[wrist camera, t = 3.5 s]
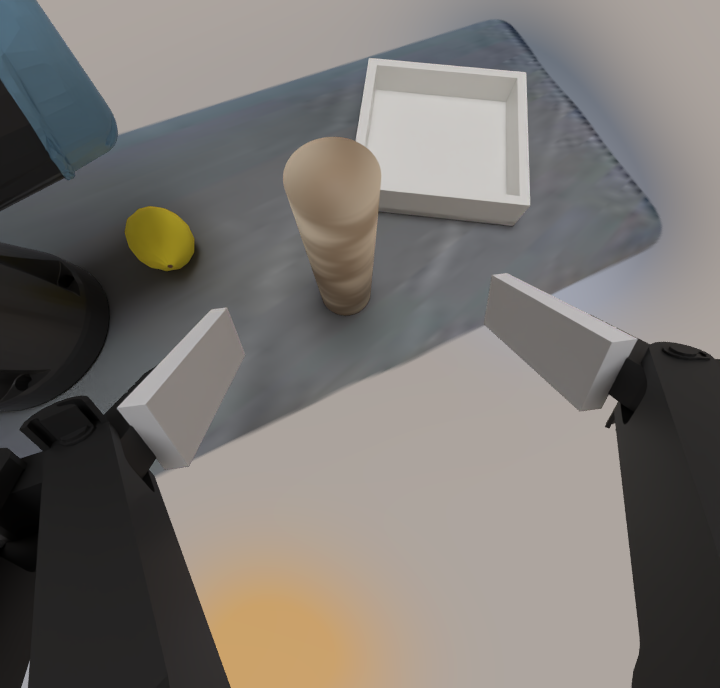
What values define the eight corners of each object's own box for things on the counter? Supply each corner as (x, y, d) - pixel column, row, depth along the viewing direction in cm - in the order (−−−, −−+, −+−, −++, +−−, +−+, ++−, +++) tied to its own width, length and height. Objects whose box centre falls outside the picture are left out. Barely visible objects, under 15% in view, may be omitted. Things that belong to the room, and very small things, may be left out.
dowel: (317, 312, 27) (274, 212, 13) (325, 267, 28) (292, 132, 14) (367, 318, 26) (375, 223, 13) (373, 273, 28) (386, 141, 14)
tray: (349, 208, 29) (348, 186, 27) (368, 88, 34) (369, 58, 31) (513, 225, 29) (530, 205, 26) (511, 102, 33) (526, 72, 30)
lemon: (151, 245, 29) (103, 203, 24) (198, 226, 30) (162, 181, 25) (162, 294, 27) (112, 259, 22) (214, 272, 27) (177, 233, 22)
